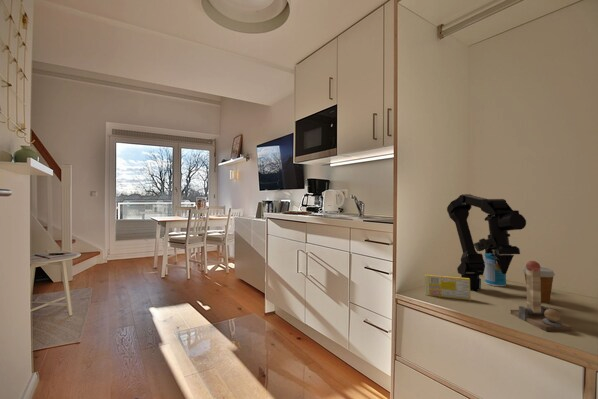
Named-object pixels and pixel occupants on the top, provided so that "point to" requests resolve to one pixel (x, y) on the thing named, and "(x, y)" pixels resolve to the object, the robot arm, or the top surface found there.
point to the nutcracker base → (542, 319)
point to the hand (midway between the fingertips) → (504, 273)
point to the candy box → (447, 287)
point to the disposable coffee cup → (544, 283)
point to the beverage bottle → (493, 272)
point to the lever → (533, 288)
